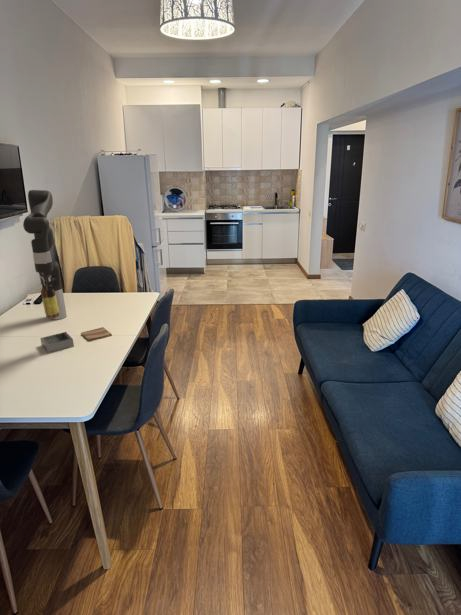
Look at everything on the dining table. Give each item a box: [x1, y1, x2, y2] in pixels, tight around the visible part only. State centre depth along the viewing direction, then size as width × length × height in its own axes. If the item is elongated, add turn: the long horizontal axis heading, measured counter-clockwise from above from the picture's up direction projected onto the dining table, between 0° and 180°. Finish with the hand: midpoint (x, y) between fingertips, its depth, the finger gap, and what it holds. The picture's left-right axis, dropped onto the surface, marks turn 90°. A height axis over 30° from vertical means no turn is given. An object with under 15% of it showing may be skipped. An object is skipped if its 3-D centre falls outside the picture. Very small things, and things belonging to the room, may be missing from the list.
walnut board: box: [80, 326, 113, 342], centre depth 217 cm, size 12×12×1 cm
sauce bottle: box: [39, 276, 59, 319], centre depth 196 cm, size 6×6×20 cm
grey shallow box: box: [40, 331, 75, 354], centre depth 204 cm, size 11×12×4 cm
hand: (48, 295), depth 196 cm, fingers closed on sauce bottle, 6 cm apart
